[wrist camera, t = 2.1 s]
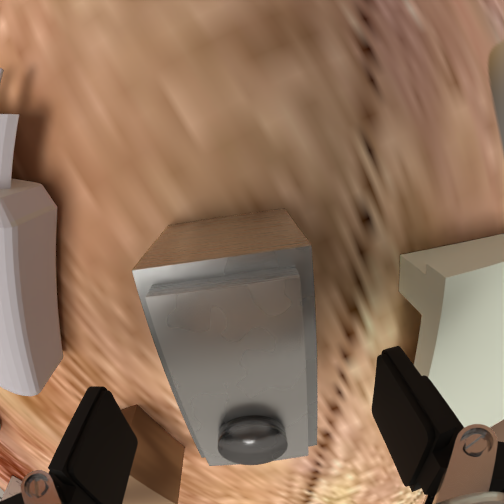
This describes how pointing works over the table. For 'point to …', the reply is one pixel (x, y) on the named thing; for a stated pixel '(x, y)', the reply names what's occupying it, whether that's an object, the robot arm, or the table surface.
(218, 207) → the table surface
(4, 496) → the white product box
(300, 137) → the table surface
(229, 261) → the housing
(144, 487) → the walnut block
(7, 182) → the charger
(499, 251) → the stand
